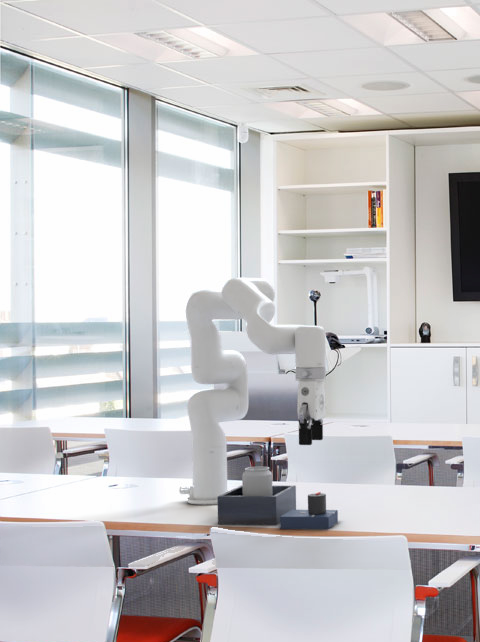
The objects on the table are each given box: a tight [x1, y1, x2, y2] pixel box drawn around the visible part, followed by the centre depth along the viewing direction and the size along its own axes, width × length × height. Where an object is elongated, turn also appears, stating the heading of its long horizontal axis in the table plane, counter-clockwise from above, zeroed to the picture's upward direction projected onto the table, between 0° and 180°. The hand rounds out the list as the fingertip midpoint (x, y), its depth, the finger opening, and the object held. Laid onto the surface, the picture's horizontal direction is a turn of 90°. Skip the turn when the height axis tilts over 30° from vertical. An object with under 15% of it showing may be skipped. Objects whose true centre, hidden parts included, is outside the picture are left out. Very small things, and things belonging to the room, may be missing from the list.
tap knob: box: [307, 491, 327, 515], centre depth 243 cm, size 4×4×5 cm
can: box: [241, 465, 273, 496], centre depth 254 cm, size 8×8×12 cm
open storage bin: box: [217, 485, 297, 526], centre depth 254 cm, size 15×17×7 cm
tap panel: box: [279, 509, 339, 530], centre depth 244 cm, size 12×9×3 cm
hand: (311, 442), depth 250 cm, fingers open, 9 cm apart
